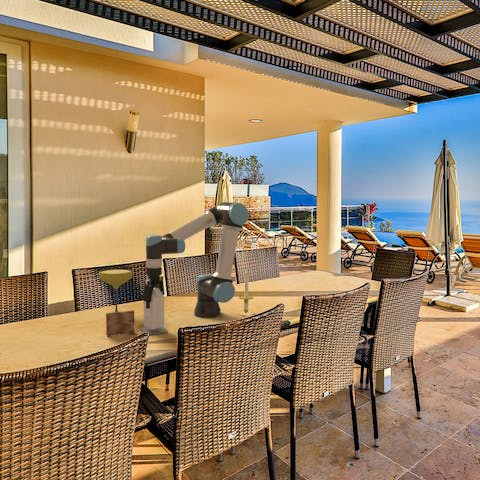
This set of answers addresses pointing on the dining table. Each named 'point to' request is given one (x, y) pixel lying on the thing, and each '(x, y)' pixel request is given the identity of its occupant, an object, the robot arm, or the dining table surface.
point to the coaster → (154, 330)
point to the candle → (246, 293)
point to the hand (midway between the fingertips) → (154, 312)
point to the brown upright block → (120, 323)
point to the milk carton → (155, 311)
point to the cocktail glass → (115, 277)
